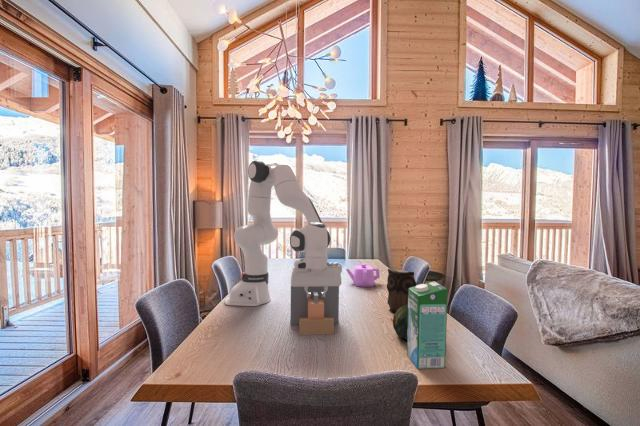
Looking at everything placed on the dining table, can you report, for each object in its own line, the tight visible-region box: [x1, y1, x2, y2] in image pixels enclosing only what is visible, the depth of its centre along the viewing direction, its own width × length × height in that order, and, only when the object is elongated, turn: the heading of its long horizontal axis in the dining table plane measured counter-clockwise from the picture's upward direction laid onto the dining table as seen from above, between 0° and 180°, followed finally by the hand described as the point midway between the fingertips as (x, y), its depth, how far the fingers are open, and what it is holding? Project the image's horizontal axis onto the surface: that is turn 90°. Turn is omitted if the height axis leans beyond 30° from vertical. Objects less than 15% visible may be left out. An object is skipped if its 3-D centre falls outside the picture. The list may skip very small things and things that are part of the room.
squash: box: [392, 305, 408, 340], centre depth 119 cm, size 14×15×15 cm
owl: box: [386, 268, 418, 315], centre depth 147 cm, size 13×13×20 cm
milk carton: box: [406, 280, 448, 370], centre depth 102 cm, size 9×9×25 cm
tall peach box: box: [308, 292, 324, 319], centre depth 128 cm, size 6×7×11 cm
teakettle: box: [345, 263, 381, 288], centre depth 198 cm, size 17×17×12 cm
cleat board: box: [289, 284, 340, 336], centre depth 130 cm, size 20×16×16 cm
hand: (315, 297), depth 128 cm, fingers open, 4 cm apart
